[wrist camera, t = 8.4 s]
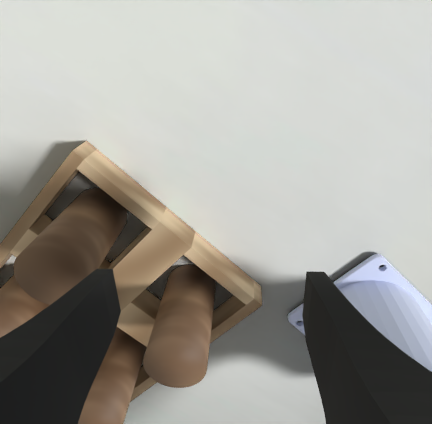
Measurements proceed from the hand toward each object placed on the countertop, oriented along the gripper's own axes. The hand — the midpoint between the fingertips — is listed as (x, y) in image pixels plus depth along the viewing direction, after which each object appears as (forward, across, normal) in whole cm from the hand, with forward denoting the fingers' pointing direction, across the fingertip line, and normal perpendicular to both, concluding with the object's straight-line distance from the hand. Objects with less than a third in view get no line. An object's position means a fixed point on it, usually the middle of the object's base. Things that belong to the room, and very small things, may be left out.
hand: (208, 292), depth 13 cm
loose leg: (+10, +8, +2) cm, 13 cm away
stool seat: (+10, +8, +8) cm, 15 cm away
